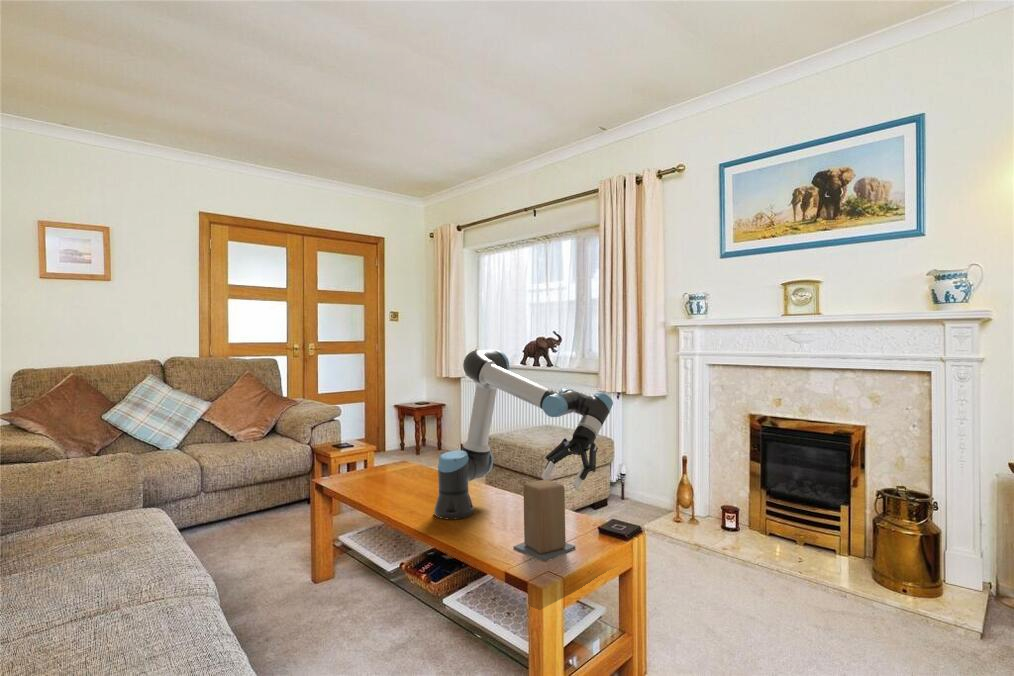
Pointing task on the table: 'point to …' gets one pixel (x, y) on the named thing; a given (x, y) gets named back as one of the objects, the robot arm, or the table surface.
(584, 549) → the table surface
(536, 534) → the wooden block
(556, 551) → the mat
